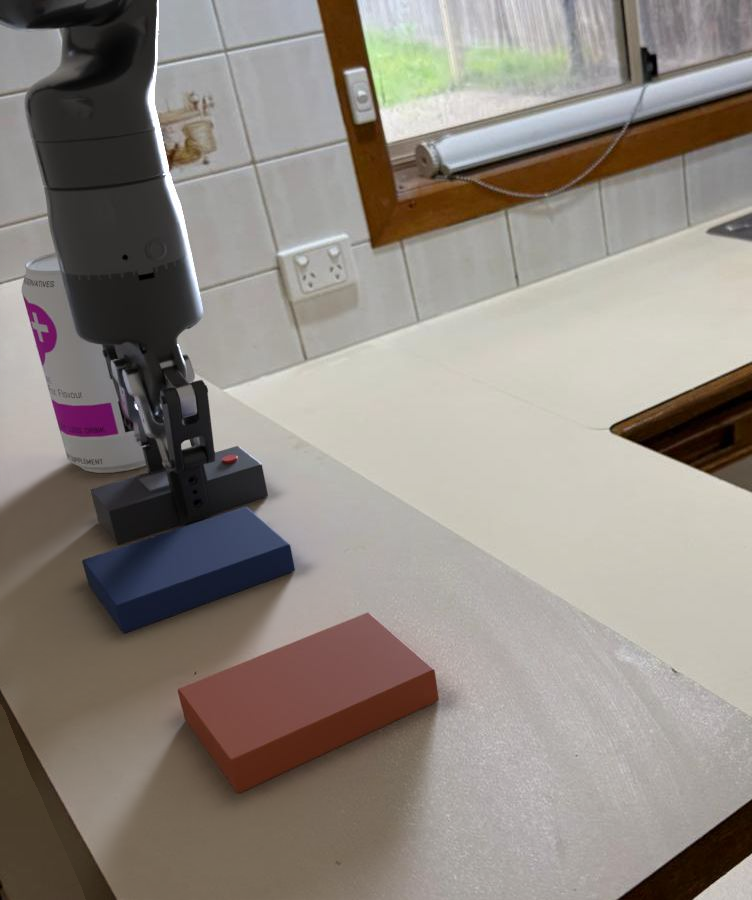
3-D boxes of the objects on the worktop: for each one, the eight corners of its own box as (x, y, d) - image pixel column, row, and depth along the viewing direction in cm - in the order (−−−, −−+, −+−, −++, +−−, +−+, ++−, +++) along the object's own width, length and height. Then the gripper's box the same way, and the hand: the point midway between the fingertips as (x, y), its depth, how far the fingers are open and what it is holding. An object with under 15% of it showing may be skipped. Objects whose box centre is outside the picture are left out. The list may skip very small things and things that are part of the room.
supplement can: (71, 486, 81) (14, 279, 75) (69, 446, 88) (17, 254, 82) (190, 461, 84) (144, 260, 78) (179, 424, 90) (136, 237, 84)
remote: (117, 545, 72) (107, 508, 71) (98, 522, 75) (88, 486, 74) (268, 496, 77) (261, 461, 76) (244, 476, 80) (237, 442, 79)
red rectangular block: (184, 719, 54) (176, 688, 54) (373, 640, 60) (368, 611, 59) (238, 794, 49) (230, 760, 48) (439, 700, 55) (435, 669, 54)
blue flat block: (88, 586, 67) (81, 559, 66) (251, 530, 72) (246, 505, 72) (123, 634, 62) (115, 606, 61) (295, 571, 67) (290, 544, 66)
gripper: (32, 247, 72) (96, 489, 79) (92, 288, 62) (161, 563, 69) (151, 226, 76) (202, 458, 83) (227, 260, 66) (279, 523, 73)
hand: (183, 504), depth 76 cm, fingers closed on remote, 4 cm apart
